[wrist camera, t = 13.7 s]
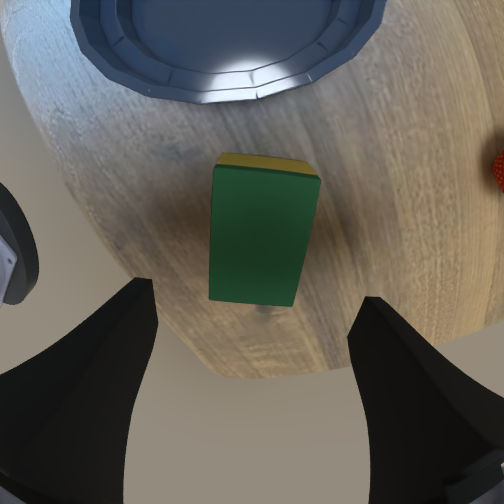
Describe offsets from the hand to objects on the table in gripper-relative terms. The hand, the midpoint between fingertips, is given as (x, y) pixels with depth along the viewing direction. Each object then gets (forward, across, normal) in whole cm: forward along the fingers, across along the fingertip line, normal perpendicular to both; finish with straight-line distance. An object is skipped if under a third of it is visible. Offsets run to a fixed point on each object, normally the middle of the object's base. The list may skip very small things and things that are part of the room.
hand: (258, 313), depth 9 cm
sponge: (+8, 0, 0) cm, 8 cm away
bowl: (+8, +3, -13) cm, 15 cm away
